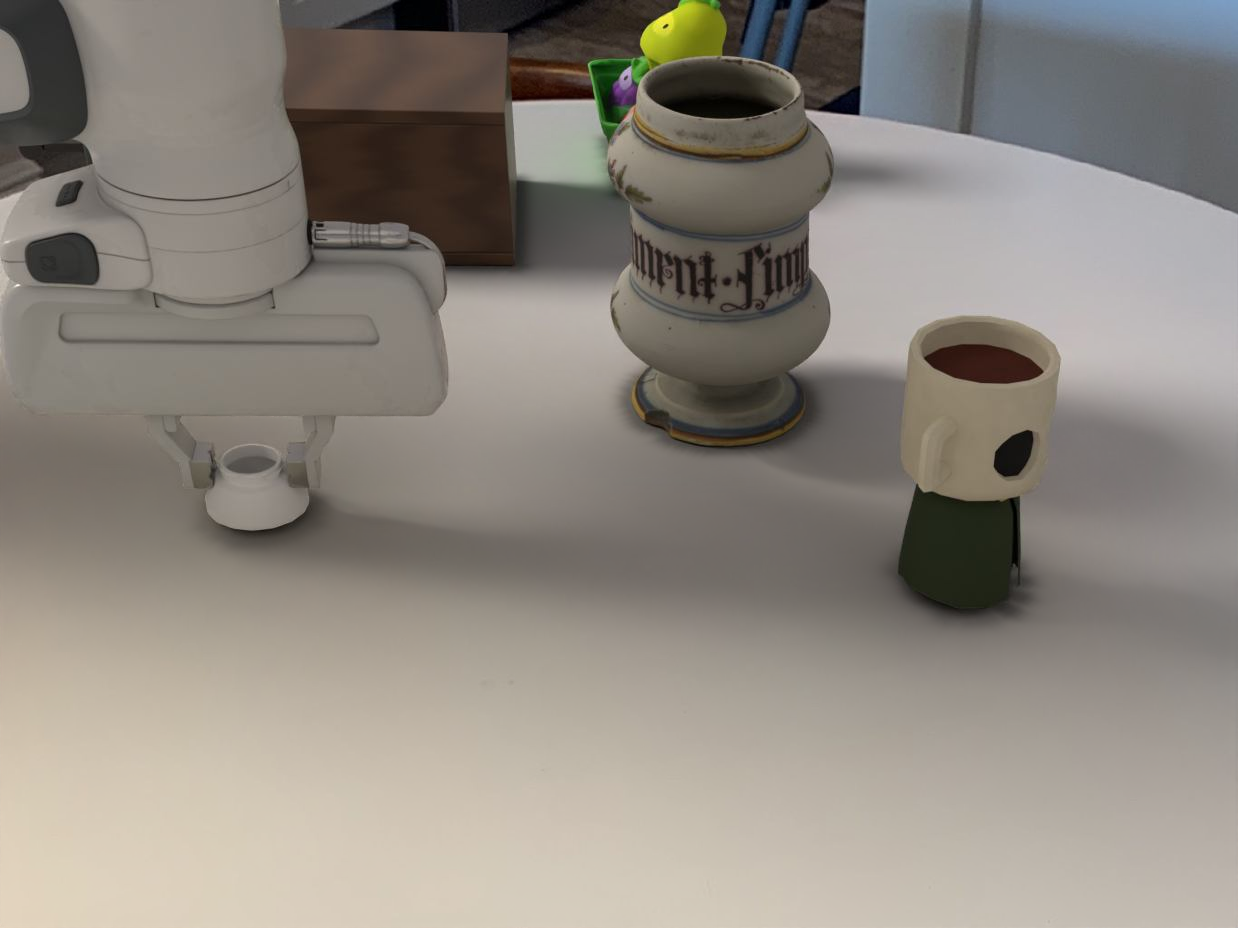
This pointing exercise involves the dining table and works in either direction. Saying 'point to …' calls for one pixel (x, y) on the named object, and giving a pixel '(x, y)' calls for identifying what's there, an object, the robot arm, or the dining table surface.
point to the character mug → (973, 452)
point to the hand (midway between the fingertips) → (253, 482)
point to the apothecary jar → (720, 247)
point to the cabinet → (408, 134)
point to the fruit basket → (656, 56)
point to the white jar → (254, 490)
